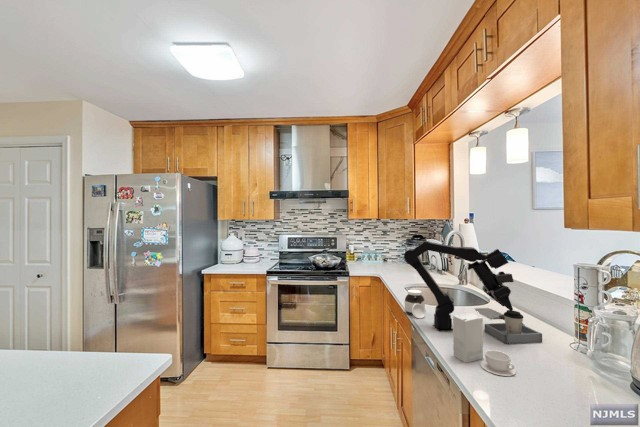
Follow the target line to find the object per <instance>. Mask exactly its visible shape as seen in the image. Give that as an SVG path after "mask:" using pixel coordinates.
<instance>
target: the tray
mask: <svg viewBox="0 0 640 427" xmlns="http://www.w3.org/2000/svg"><path fill="white" fill-rule="evenodd" d="M524 325H525V324H524ZM524 325H522V328H521V334H507V332H506V324H505V322H499V323H498V322H497V323H496V322H495V323H493V322H492V323H484V333H486V334H488V335H489V336H491V337H493V338H495V339H496V340H498V341H499V342H500V343H503V344H504V345H518V344H519V345H521V344H538V343H539V344H540V343H541V344H542V343H543V333H542V332H539V331H538V330H535V329H533V328H531V327H528V326H526V325H525V326H524Z"/></svg>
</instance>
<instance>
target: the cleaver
mask: <svg viewBox="0 0 640 427" xmlns="http://www.w3.org/2000/svg"><path fill="white" fill-rule="evenodd" d="M474 309H475V310H474V311H476V312H477V311H478V312H479V314H480V315H481V316H484V317H486V318H488V319H490V320H504V321H505V317H504V313H501V312H499V311H497V310H494V309H492V308H489V307H483V308H481V307H480V308H479V307H478V308H477V307H476V308H474ZM478 312H477V313H478ZM522 325H524V326H526V324H524V323H523V322H522Z"/></svg>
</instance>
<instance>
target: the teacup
mask: <svg viewBox="0 0 640 427" xmlns="http://www.w3.org/2000/svg"><path fill="white" fill-rule="evenodd" d="M484 358H485V360H483V361H481V362H480V366H481V368H482V369H483V370H485V371H487V372H489V373H490V374H491V373H492V374H494V375H498V376H504V377H511V376H514V375H516V374H517V370H516V369H515V364H514V363H512V362H511V361H512V357H511V356H510V355H509V354H508V353H506V352H503V351H500V350H496V349H488V350H485V351H484Z"/></svg>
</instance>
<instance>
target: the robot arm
mask: <svg viewBox="0 0 640 427" xmlns="http://www.w3.org/2000/svg"><path fill="white" fill-rule="evenodd" d="M427 251H430V252H435V253H441V254H444V255H451V256H455V257H457V258H460V259H463V260H465V261H467V262H468V264H467V268H466V269H467V270H468V271H470V270H473V271H474V273H475V274H476V276H477V277H478V280H479V282H480V283H482V284H483V286H482V287H481V289H482V291H483V292H484V293H485V294H486V295H488V296H489V297H490V298H491V299H492V300H494V301H496V302H497V303H498V304H499V305H501V306H502V307H505V308H506V309H508V310H510V311H511V310H513V311H514V308H513V306H512V304H511V303H512V302H511V299H510V294H511V292H512V291H511V289H510V287H509V286H506V285H504V283H506V284H507V283H514V282H515V281H514V278H513V275H512V273H506V272H504V271H499V272H498V274H496V273H493V271H492V270H491V269H494V270H497V269H499V268H501V267H503V266H505V265H507V264H509V261H508V259H507V257H506V256H505V255H503V254H502V252H501V251H500V250H499V249H498V248H496V249H494V250H493V251H491V252H490V253H487V254H484V253H482V252H479V250H478V249H476V248H475V247H473V246H452V245H449V244H448V245H447V244H442V243H438V242H431V241H429V240H426V241H423V243H420V244H419V245H417V246H416V247H415V248H410V249H407V250H406V251H405V253H403V254H404V255H403V258H404V260H405V261H406V263H407V264H409V266H411V267H412V268H414V270H415V271H417V273H418V275H419V276H420V278H421V279H422V281H423V282H424V283H425V285H426V286H427V287H428V289H429V290H430V291H431V293H432V294H433V296H434V298H435V300H436V303H437V305H436V306H435V310H434V314H433V319H434V320H433V323H434V324H432V327H433V328H434V329H436V330H437V331H438V332H450V331H451V332H453V323H452V322H453V318H452V315H451V314H452V313H454V311H455V303H454V300H455V299H454V298H453V297H452V296H451V294H450V293H449V291H447V292H445V291H443V290H442V289H441V287H440V286H439V284H438V283H437V282H436V280H435V278H433V276H432V274H430V272H429V271H428V270H427V268H426V266H425V265H424V264H423V261H422V259H421V255H422V254H424V253H425V252H427ZM470 262H471V263H470Z"/></svg>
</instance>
